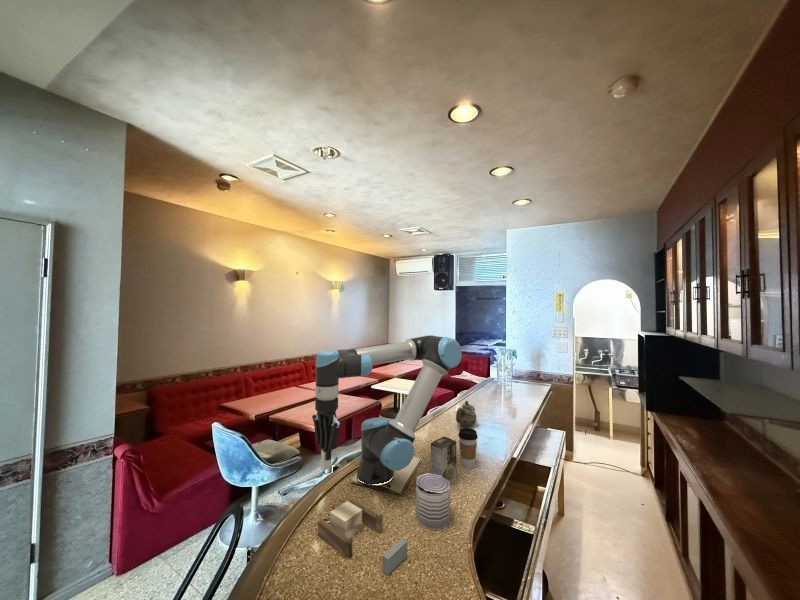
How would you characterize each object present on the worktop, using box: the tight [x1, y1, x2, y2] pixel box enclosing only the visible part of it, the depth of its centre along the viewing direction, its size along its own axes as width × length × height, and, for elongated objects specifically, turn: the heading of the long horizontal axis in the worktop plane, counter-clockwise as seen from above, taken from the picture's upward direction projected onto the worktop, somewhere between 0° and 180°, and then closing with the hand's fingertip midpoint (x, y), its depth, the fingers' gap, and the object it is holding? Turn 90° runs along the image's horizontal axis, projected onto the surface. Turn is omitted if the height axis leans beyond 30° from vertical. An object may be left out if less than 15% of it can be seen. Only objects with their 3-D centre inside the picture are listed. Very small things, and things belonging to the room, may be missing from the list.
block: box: [329, 500, 363, 537], centre depth 96 cm, size 7×7×6 cm
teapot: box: [455, 400, 477, 428], centre depth 181 cm, size 21×12×15 cm, turn 144°
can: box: [415, 473, 451, 530], centre depth 102 cm, size 11×11×12 cm
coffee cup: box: [458, 427, 478, 469], centre depth 137 cm, size 8×8×15 cm
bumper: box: [381, 537, 408, 576], centre depth 84 cm, size 8×2×4 cm, turn 141°
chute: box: [317, 499, 384, 560], centre depth 95 cm, size 14×14×5 cm
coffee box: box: [430, 436, 457, 486], centre depth 123 cm, size 9×6×16 cm
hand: (325, 468), depth 103 cm, fingers closed
